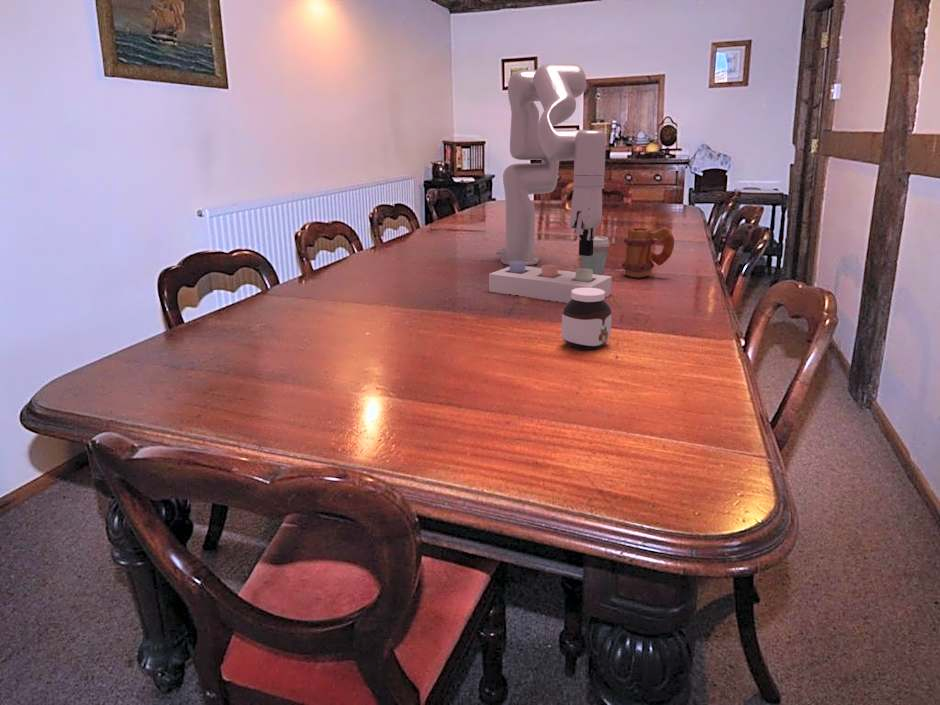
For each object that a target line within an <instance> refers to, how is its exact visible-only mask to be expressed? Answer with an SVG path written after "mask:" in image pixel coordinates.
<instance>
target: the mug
mask: <svg viewBox="0 0 940 705" xmlns="http://www.w3.org/2000/svg"><path fill="white" fill-rule="evenodd" d="M654 239H656V240H657V241H659V242H660V243H662V244H663V247H662V251H661V252H660V253H658V254H656V253H653V252H651V251H652V250H651V249H652V248H651V246H652V245H654V244H655V243H656V242H655V240H654ZM623 242H624V243H625V245H626V250H625V251H626V253H625V261H624V262H623V263H621V267H622V268H623V269H624V273H625V275H626V276H628V277H630V278H633V277H634V278H635V279H637V278H644V277H645V278H646V277H648V276H649V275H651V274H652V269H653V268H654V267H655V264H656V265H657V266H662V265H663V264H664V263H666V262H667V261H668V260H669V258H671V256H672V253H673V251H674V248H675V238H674V235H673V233H672V231H671V230H670V229H669V228H668V227H666V226H664V227H661V228H659V229H658V230H656V231H655V230H653V231H652V230H651V228H647V227H646V228H644V227H638V228H637V227H630V228H628V232H627V237H626V238H624V240H623ZM653 262H654V263H655V264H654V263H653Z"/></svg>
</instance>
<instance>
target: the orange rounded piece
mask: <svg viewBox="0 0 940 705" xmlns="http://www.w3.org/2000/svg"><path fill="white" fill-rule="evenodd" d="M541 268H542V276H541V277H548V278H556V277H558V270H559V265H557V264H553V263H552V264H550V263H549V264H548V263H547V264H542V265H541Z"/></svg>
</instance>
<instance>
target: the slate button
mask: <svg viewBox="0 0 940 705" xmlns="http://www.w3.org/2000/svg"><path fill="white" fill-rule="evenodd" d="M509 266H510V273H517V274H523V273H525V266H526V265H525V262H524V261H511V262H510V265H509Z"/></svg>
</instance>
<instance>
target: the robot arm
mask: <svg viewBox="0 0 940 705" xmlns="http://www.w3.org/2000/svg"><path fill="white" fill-rule="evenodd" d="M586 85H587V78H586V73H585V71H584V70H583V67H581V66H579V64H573V63H572V64H571V63H567V64H566V63H548V64H544V65H541V66H540V67H538V68H537V69H523V70H517V71H515V72H513V73H512V74H511V76H510V77H509V79H508V84H507V96H508V101H509V106H510V111H511V118H510V134H509V136H510V137H509V152H510V153H509V154H510V155H511V157H512V158H513V159H515V160H519V161H532V160H533V161H534V160H539V161H540V160H541V162H540V163H539V162H537V163H531V162H530V163H514V164H510V165H509V166H507V167H506V168H505V169H504V171H503V174H502V182H503V189H504V197H505V199H504V200H505V247H497V248H496V250H495V254H496V255H502V257H501V258H500V263H501V264H503V265H507V266H510V262H511V261H524V262H525V266H533V265H536V264H538V263H539V262H540V261H539V257H536V256H535V238H536V237H535V236H536V235H535V234H536V233H535V230H536V208H535V205H534V203H533V201H532V200H531V199H530V197H529V195H540V194H541V195H542V194H550V193H552V192H553V191H555V189H556V187H557V185H558V178H559V166H560V162H562V161H563V162H565V161H566V162H569V161H573V191H572V198H571V204H570V219H569V227H570V228H571V229H576V230H575V234H576V235H577V236H578V240H579V242H578V243H579V246H578V248H579V249H578V255H579V256H581V257H582V256H591V255H593V241H594V240H593V239H594V236H596V235H595V233H596V231H597V230H598V227H599V226H600V225H601V224H602V220H603V218H602V217H603V189H604V188H605V187H604V186H605V168H606V145H607V144H606V143H607V136H606V135H607V134H606V133H605V131H603V130H600V129H599V130H597V129H596V130H592V129H555V128H554V127H555V126H557V125H559V124H562V123H564V122H565V121H567V120H568V119H569V118H571V117H572V115H573V114H574V113H575V111H576V108H577V101H576V98H578V97H580V96H581V95H583V93H584V92H585V90H586ZM535 102H540V104H541V107H542V109H543V112H542V114H541V116H540V110H539V108H538V106H537V105H536V103H535Z"/></svg>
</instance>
